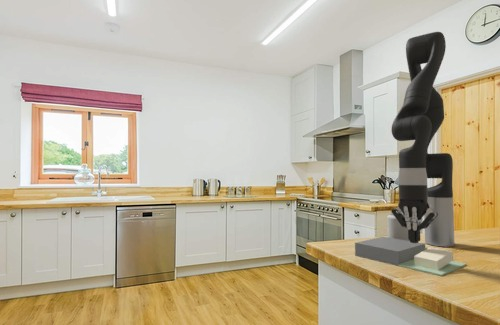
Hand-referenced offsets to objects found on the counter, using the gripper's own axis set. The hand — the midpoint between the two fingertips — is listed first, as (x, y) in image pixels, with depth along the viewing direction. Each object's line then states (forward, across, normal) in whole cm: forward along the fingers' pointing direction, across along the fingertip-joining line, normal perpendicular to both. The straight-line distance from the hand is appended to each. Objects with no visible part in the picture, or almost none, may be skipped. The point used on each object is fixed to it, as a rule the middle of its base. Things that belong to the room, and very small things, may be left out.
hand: (414, 242), depth 90 cm
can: (+6, +13, -15) cm, 21 cm away
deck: (+6, +8, 0) cm, 9 cm away
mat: (+6, -5, 0) cm, 7 cm away
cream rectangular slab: (+2, -6, +1) cm, 6 cm away
